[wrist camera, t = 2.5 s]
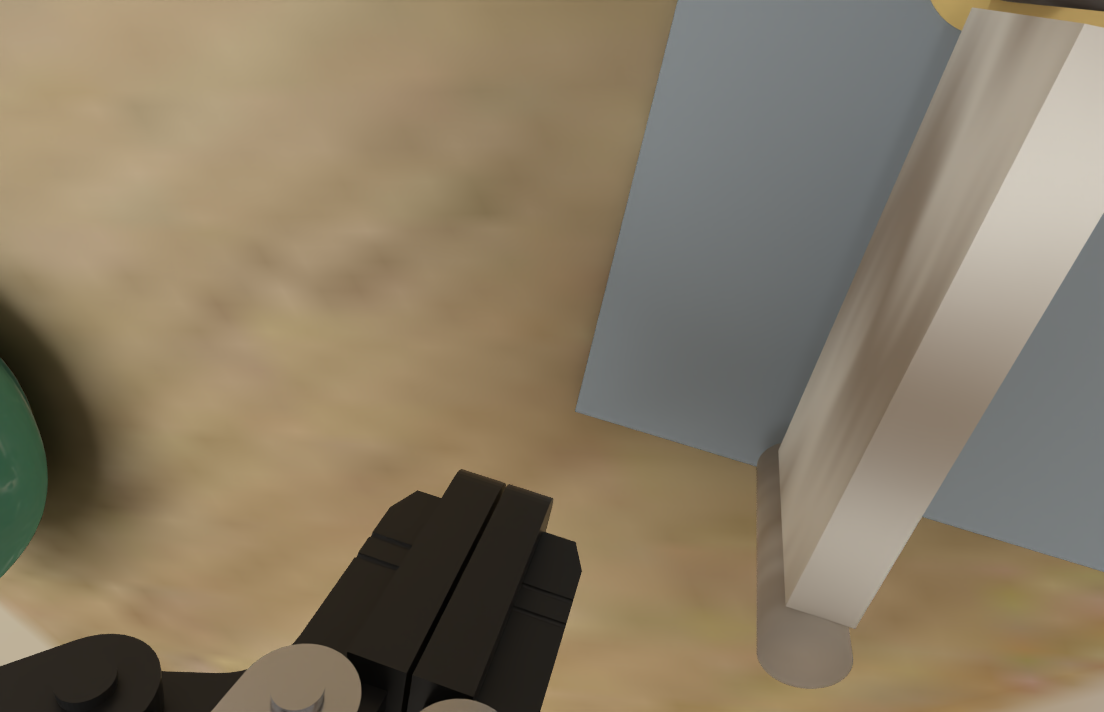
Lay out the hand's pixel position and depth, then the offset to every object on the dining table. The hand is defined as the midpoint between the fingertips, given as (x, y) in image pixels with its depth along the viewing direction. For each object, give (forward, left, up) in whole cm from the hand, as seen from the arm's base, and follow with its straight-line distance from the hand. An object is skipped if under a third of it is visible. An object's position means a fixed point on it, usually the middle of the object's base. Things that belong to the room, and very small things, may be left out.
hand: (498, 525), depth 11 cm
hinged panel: (-4, +6, -7) cm, 10 cm away
